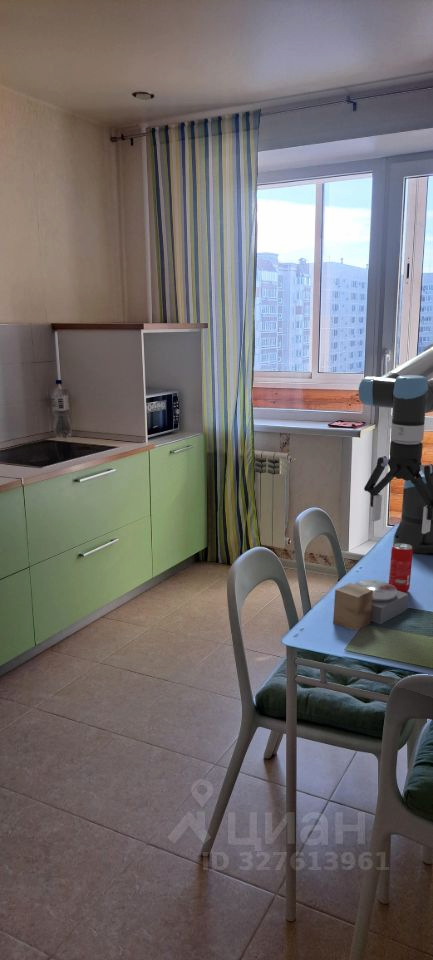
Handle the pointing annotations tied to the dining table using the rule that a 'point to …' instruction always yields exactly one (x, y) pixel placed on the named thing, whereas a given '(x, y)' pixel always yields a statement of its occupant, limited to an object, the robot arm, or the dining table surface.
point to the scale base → (389, 608)
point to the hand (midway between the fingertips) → (400, 526)
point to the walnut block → (352, 606)
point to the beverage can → (401, 566)
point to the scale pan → (379, 590)
